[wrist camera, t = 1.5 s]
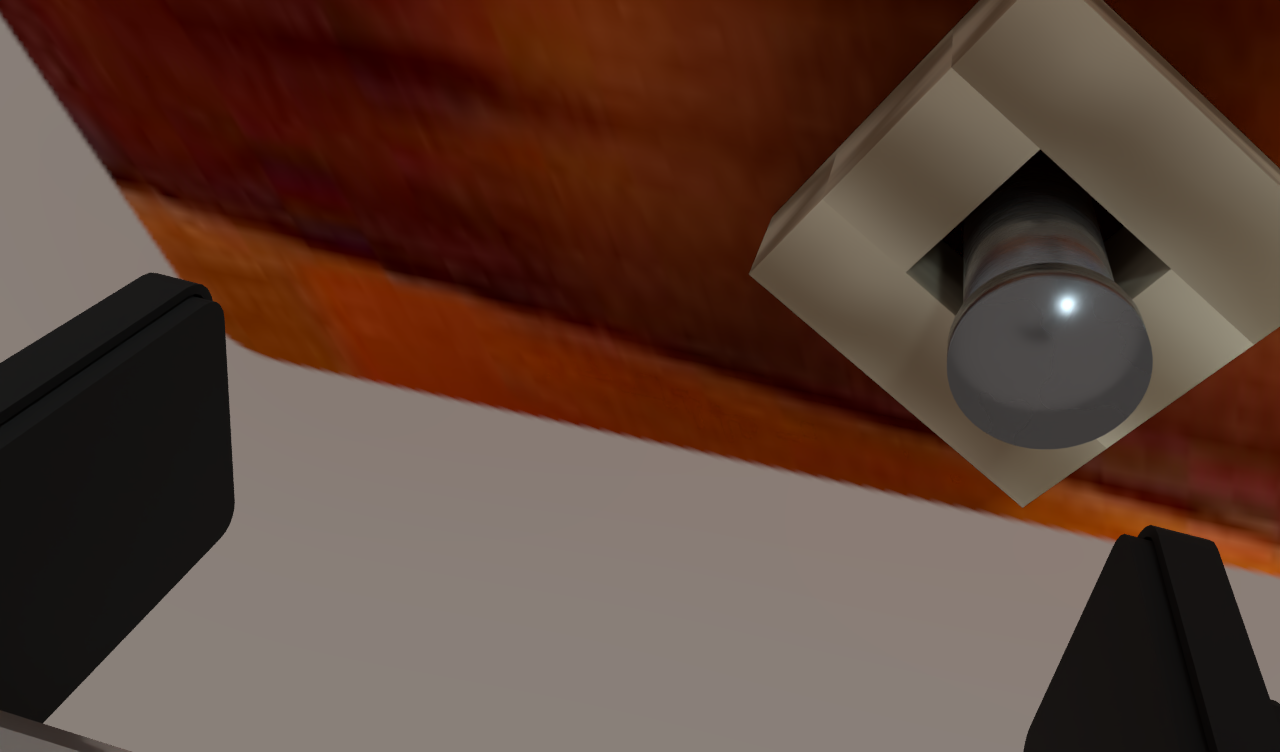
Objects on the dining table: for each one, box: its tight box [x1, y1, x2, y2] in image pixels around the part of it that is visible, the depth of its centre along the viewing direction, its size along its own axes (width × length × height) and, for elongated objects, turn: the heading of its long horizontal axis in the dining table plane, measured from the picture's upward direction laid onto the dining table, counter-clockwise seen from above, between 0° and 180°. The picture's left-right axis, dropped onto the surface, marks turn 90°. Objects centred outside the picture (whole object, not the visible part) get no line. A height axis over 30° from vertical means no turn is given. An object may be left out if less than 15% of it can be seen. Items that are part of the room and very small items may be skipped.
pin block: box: [749, 0, 1280, 508], centre depth 34 cm, size 12×12×5 cm
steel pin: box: [947, 152, 1153, 450], centre depth 32 cm, size 5×5×11 cm
